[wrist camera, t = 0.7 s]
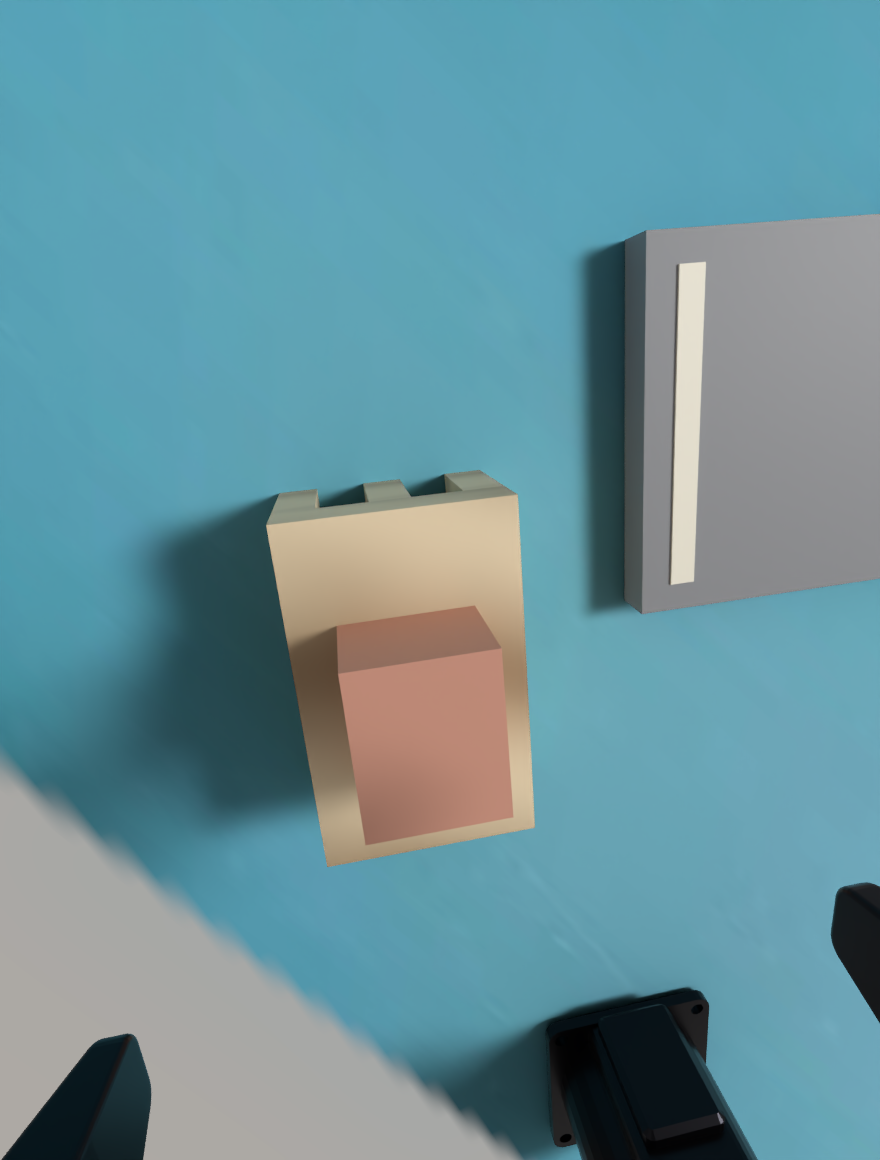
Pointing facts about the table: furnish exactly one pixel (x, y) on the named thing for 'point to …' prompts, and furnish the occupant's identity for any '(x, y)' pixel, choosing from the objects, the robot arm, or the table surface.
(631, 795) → the table surface
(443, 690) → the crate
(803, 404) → the dock
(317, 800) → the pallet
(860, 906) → the robot arm
